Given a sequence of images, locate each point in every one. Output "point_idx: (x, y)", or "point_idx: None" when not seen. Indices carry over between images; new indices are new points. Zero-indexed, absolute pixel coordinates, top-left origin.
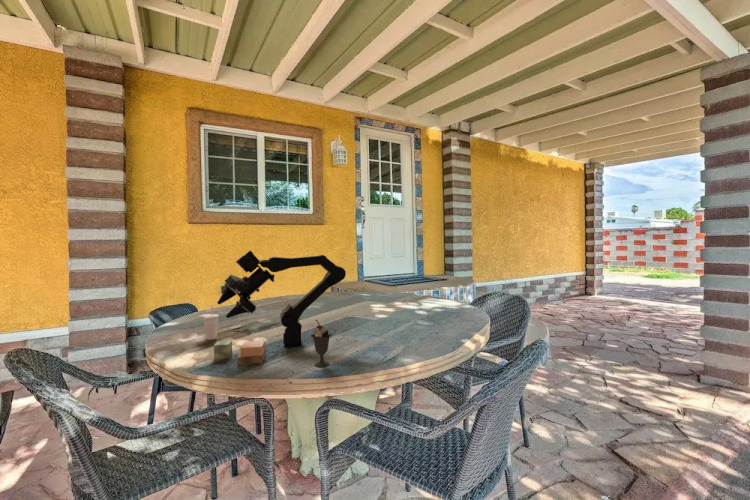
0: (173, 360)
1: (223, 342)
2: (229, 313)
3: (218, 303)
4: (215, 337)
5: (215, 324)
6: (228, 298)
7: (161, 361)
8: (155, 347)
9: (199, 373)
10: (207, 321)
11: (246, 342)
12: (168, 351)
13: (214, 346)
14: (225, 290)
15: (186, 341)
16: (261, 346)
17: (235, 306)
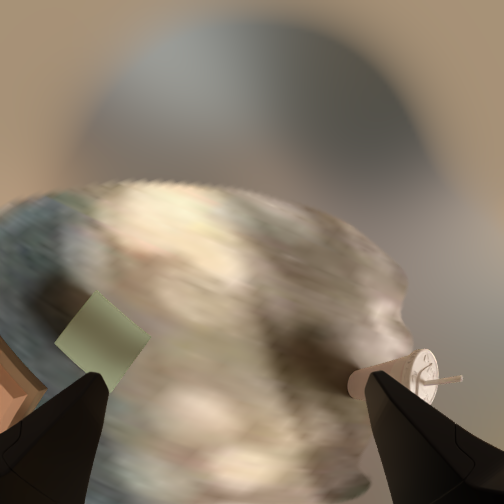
0: (201, 209)
1: (106, 346)
2: (56, 396)
3: (369, 382)
4: (352, 395)
5: None
6: (395, 489)
7: (218, 187)
8: (353, 234)
9: (23, 205)
10: (400, 364)
11: (2, 397)
12: (303, 239)
13: (95, 294)
14: (495, 468)
15: (367, 312)
16: None
17: (3, 463)
